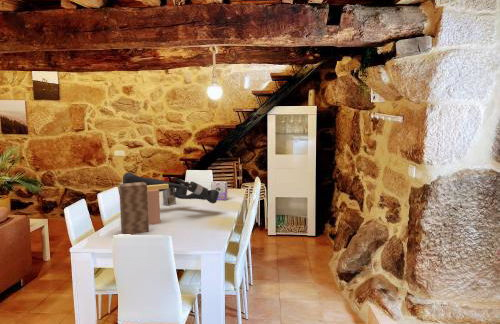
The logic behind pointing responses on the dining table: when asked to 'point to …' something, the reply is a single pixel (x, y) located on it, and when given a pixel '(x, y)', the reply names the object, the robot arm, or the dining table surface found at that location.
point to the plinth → (134, 208)
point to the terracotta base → (153, 207)
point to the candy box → (220, 189)
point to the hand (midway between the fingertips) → (176, 179)
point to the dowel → (157, 187)
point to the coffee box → (169, 197)
